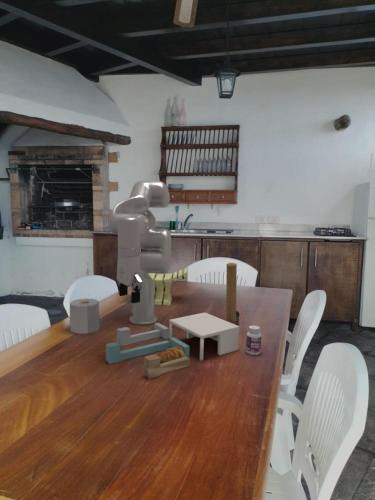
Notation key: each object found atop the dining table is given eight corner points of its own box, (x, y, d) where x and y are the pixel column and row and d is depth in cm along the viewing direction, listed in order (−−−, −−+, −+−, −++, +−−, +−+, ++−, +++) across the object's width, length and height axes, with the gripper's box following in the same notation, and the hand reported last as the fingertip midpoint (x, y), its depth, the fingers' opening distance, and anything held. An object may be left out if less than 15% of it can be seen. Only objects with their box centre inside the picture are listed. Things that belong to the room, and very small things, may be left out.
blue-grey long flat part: (106, 360, 130) (105, 344, 129) (170, 345, 145) (170, 330, 144) (121, 375, 120) (121, 357, 119) (189, 356, 134) (189, 340, 134)
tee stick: (114, 341, 147) (114, 327, 146) (158, 332, 159) (158, 318, 158) (123, 348, 140) (123, 333, 140) (168, 337, 152) (169, 323, 151)
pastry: (164, 366, 127) (164, 355, 127) (153, 359, 132) (153, 349, 132) (186, 359, 133) (186, 348, 132) (175, 353, 138) (175, 343, 138)
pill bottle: (251, 356, 136) (252, 330, 135) (242, 351, 141) (243, 325, 139) (263, 353, 138) (264, 328, 137) (254, 348, 143) (255, 323, 142)
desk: (168, 342, 148) (169, 319, 146) (204, 333, 158) (204, 312, 157) (201, 360, 131) (201, 335, 130) (238, 349, 142) (239, 326, 140)
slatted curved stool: (187, 297, 214) (187, 266, 212) (186, 305, 198) (187, 271, 196) (134, 296, 215) (134, 265, 212) (129, 303, 199) (129, 270, 196)
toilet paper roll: (105, 329, 161) (104, 302, 159) (79, 336, 152) (79, 308, 150) (89, 322, 169) (88, 297, 167) (64, 328, 160) (63, 302, 159)
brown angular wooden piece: (144, 375, 120) (144, 357, 119) (185, 363, 130) (185, 346, 129) (149, 378, 118) (149, 360, 117) (190, 366, 127) (191, 349, 126)
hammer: (233, 342, 155) (233, 273, 145) (220, 341, 156) (220, 273, 146) (240, 319, 173) (241, 256, 164) (229, 317, 174) (229, 256, 165)
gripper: (108, 249, 138) (109, 294, 141) (130, 257, 124) (130, 307, 127) (127, 247, 142) (128, 291, 145) (150, 255, 128) (150, 303, 131)
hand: (129, 298), depth 136 cm, fingers open, 9 cm apart
